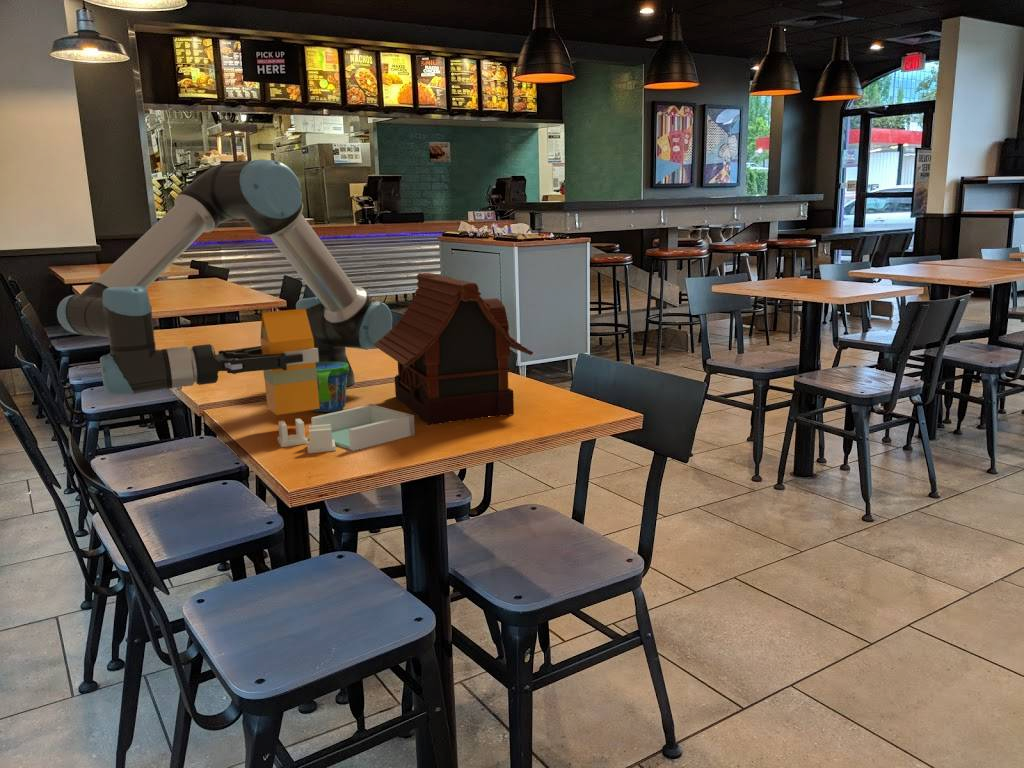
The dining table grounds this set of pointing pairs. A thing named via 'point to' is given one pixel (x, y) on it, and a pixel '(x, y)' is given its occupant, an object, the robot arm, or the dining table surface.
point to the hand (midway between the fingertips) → (311, 351)
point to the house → (452, 352)
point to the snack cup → (331, 385)
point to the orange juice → (298, 381)
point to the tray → (367, 426)
